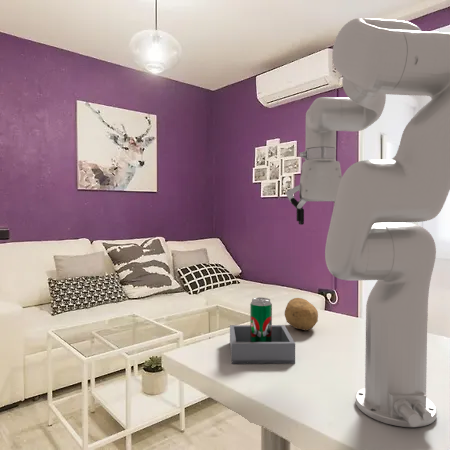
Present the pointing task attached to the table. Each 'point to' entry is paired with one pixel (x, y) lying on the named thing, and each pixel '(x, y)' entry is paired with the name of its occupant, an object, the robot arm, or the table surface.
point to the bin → (261, 347)
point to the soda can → (260, 320)
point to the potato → (301, 314)
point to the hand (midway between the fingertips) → (320, 224)
